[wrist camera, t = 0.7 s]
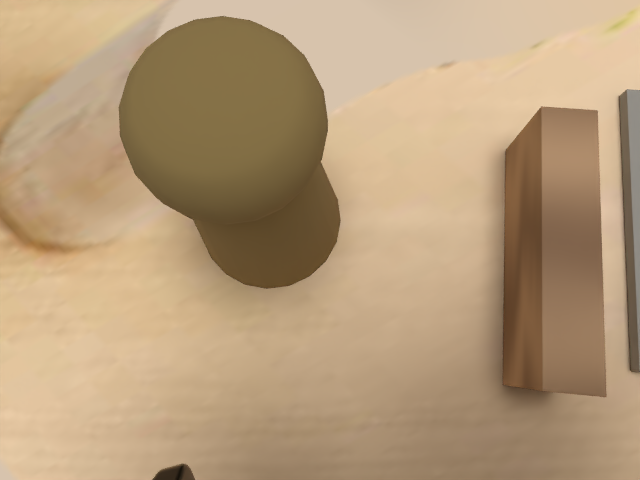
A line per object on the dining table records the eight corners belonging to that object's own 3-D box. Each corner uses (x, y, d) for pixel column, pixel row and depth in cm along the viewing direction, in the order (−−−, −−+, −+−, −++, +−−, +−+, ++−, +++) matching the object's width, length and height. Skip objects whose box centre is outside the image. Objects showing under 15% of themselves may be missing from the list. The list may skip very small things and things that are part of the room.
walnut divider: (554, 389, 20) (606, 397, 16) (502, 384, 20) (542, 390, 16) (552, 153, 22) (597, 110, 19) (505, 150, 23) (541, 106, 19)
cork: (249, 316, 21) (162, 274, 10) (175, 202, 22) (30, 59, 12) (368, 236, 22) (400, 118, 11) (290, 129, 23) (251, -71, 12)
